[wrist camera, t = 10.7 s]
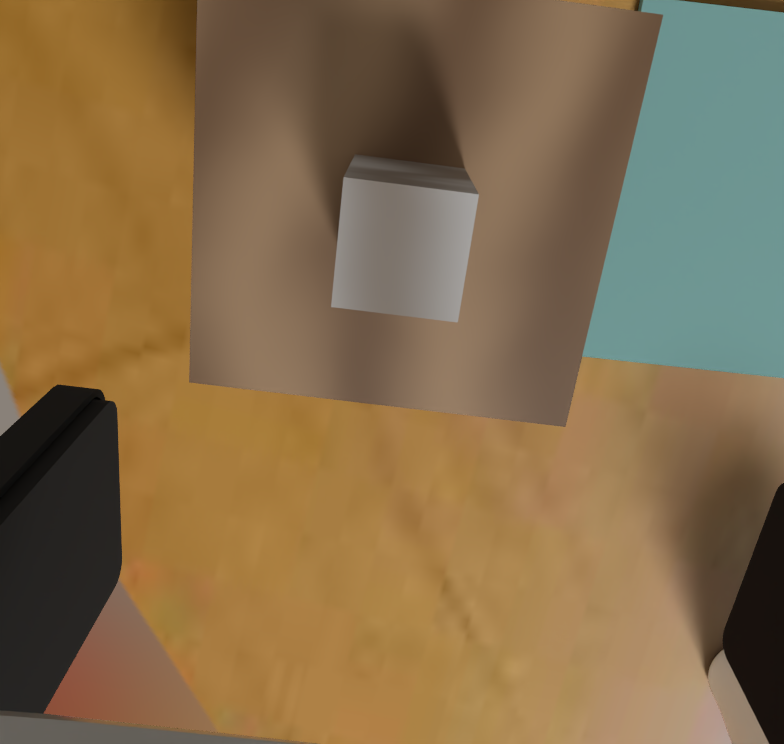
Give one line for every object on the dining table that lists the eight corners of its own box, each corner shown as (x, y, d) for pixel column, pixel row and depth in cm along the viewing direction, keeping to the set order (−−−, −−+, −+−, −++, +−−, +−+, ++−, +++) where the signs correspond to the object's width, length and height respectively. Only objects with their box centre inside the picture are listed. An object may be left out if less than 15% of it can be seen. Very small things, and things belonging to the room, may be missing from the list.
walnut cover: (655, 15, 23) (729, 4, 18) (561, 417, 29) (596, 499, 23) (204, -46, 23) (144, -77, 18) (194, 373, 28) (146, 447, 23)
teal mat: (1016, 40, 32) (1025, 40, 31) (879, 384, 38) (885, 389, 38) (640, -3, 31) (644, -4, 31) (565, 351, 38) (567, 354, 37)
